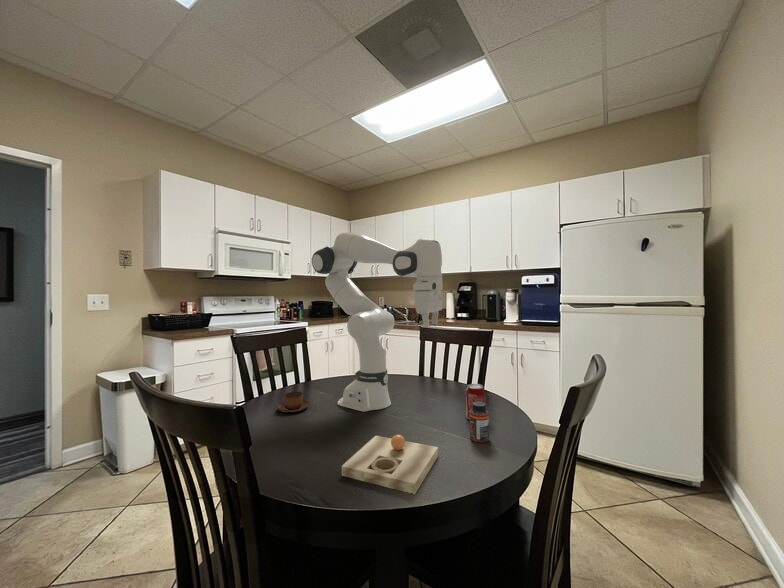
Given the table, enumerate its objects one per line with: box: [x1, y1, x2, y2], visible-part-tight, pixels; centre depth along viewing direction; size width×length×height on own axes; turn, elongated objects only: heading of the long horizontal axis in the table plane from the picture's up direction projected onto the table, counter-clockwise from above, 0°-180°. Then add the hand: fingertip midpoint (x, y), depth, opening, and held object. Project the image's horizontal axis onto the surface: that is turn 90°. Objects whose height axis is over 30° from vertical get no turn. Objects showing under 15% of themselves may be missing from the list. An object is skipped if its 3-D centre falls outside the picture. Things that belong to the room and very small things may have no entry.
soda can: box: [465, 383, 486, 420], centre depth 119 cm, size 7×7×12 cm
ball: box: [391, 434, 406, 450], centre depth 92 cm, size 4×4×4 cm
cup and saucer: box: [277, 391, 309, 413], centre depth 133 cm, size 12×12×6 cm
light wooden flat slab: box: [341, 435, 439, 495], centre depth 89 cm, size 20×19×2 cm
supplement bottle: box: [469, 402, 490, 444], centre depth 103 cm, size 6×6×11 cm
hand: (430, 325), depth 113 cm, fingers open, 8 cm apart
